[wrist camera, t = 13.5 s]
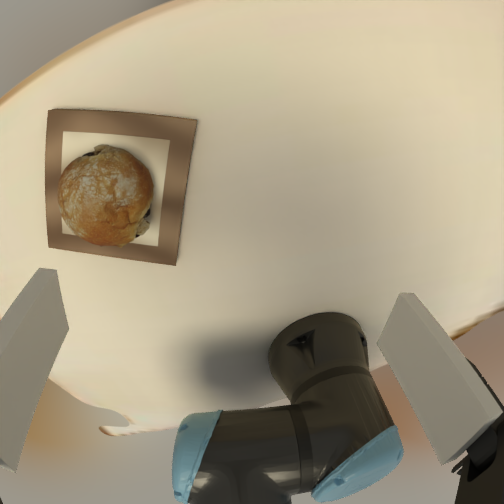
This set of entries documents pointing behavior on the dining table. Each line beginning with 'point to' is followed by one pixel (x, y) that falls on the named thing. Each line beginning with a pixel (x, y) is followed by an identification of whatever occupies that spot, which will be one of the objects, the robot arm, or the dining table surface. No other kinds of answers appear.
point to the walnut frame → (141, 147)
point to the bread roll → (106, 196)
